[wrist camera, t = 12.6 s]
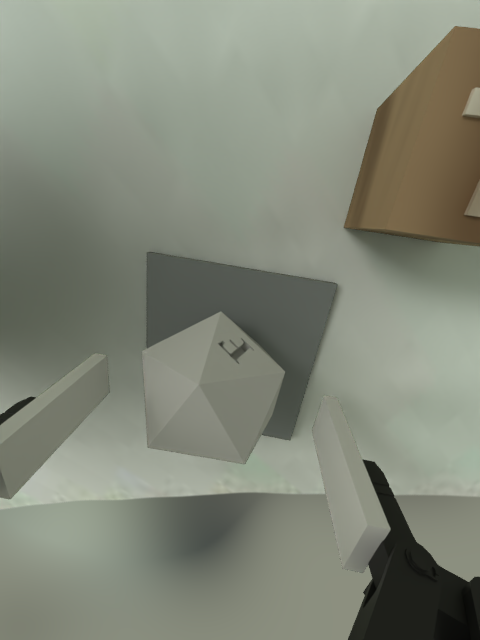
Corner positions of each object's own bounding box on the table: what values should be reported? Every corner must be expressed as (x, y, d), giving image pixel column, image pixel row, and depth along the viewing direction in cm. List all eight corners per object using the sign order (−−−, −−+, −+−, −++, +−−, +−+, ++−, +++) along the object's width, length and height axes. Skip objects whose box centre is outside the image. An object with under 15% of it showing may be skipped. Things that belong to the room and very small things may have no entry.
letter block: (343, 227, 15) (387, 229, 10) (376, 109, 13) (458, 22, 7) (440, 242, 15) (545, 253, 9) (491, 124, 13) (668, 45, 7)
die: (293, 384, 20) (333, 379, 11) (218, 468, 18) (189, 547, 9) (223, 317, 22) (205, 263, 12) (148, 389, 20) (65, 389, 11)
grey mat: (148, 407, 22) (146, 411, 22) (150, 251, 17) (146, 252, 17) (289, 436, 22) (290, 440, 21) (335, 283, 17) (337, 284, 16)
